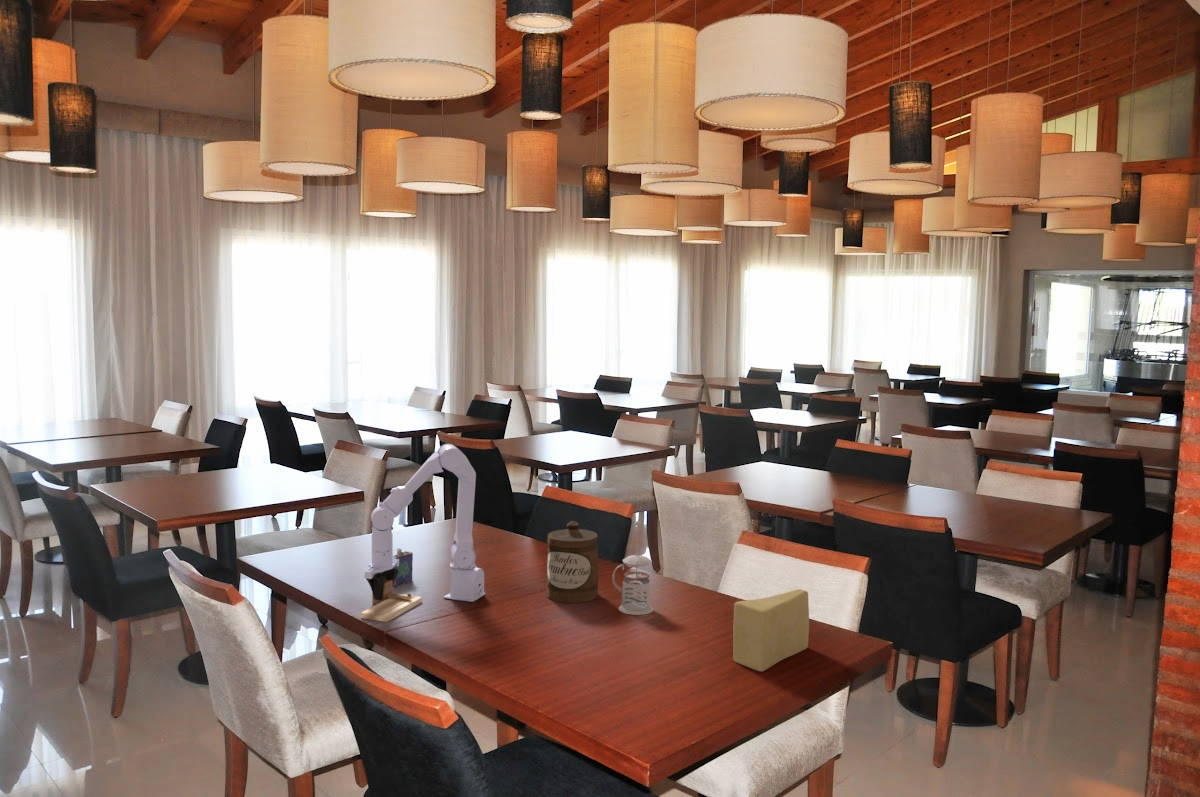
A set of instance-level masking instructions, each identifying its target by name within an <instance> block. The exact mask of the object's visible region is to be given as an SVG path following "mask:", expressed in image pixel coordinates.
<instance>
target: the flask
mask: <svg viewBox="0 0 1200 797" xmlns="http://www.w3.org/2000/svg"><path fill="white" fill-rule="evenodd" d="M413 555H414V553H413V552H411V551H407V550H406V551H402V549H401V548H396V554H395V555H393V559H399V566H397V567H396V566H395V567H394V569H398V570H399V572H398V574H397V576H396V578H395V580H394V583H393V588H397V587H400V586H402V585H405V584H409V583H412V582H413Z"/></svg>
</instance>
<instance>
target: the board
mask: <svg viewBox="0 0 1200 797" xmlns="http://www.w3.org/2000/svg"><path fill="white" fill-rule="evenodd" d="M421 603H423V597H422V596H416V595H412V599H411V600H405V599H397V598H388V599H386V600H384V601H383V602H381V603H379V604H375V605H373V606H371V607H370V608H368V609H365V610H363V611H362V612H360V614H361V615H360V619H364V620H371V621H379V622H384V623H386V622H387V623H388V622H390V621H391V620H393V619H395V618H397V617H399V616H400V615H402V614H404V613H406V612H407V611H409V610H411V609H413V608H414V607H416V606H418V605H420V604H421Z"/></svg>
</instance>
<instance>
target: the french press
mask: <svg viewBox="0 0 1200 797" xmlns="http://www.w3.org/2000/svg"><path fill="white" fill-rule="evenodd" d="M633 525H634V526H636V530H637V531H636V554H633V555H628V556H626V557H625V558H623V559H622V563H621V564H619V565H617V566H616V567H615V569H614V571H613V572H612V578H613V579H612V584H613V586H614V587H615V589H617V590H618V591H619V592H621V605H620V606H619V607H618V610H619V611H620V613H624V614H627V615H634V616H635V615H636V616H639V615H640V616H641V615H647V614H651V613H652V612H654V608H653V607H652V606H651V579H649V578H650V574H649V573H647V572H643V571H638V567H646V566H649V565H651V564H652V560H651V559H650V558H649V557H647V556H645V555H642V554H640V555H639V554H638V550H639V549H638V548H639V547H638V546H639V545H638V544H639V543H638V542H639V539H638V538H639V527H640V526H642V523H641V521H639V520H636V521H635V522H634V524H633ZM625 565H628V566H632V567H633V566H634V567H636V569H635V570H636V571H628V572H625V573H624V574H623V577H624V578H623V580H622V588H621V587H619V585H618V584H617V583H616V580H615V579H616V577H615V574H616V571H617V570H618V569H619V568H620V567H621V568H622V571H624V570H625ZM632 581H635V582H632ZM636 581H638V582H636ZM630 582H631V583H630ZM639 582H640V583H639ZM641 583H642V584H641ZM642 593H643V594H642Z"/></svg>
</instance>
